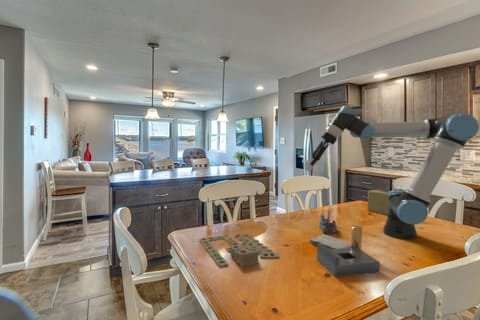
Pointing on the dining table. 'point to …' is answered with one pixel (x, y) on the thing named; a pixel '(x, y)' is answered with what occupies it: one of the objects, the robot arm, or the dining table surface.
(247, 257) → the pile of dominoes
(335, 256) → the jig
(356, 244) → the tan cylinder
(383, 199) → the cheese
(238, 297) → the dining table surface
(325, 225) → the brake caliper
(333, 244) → the washcloth
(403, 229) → the robot arm
